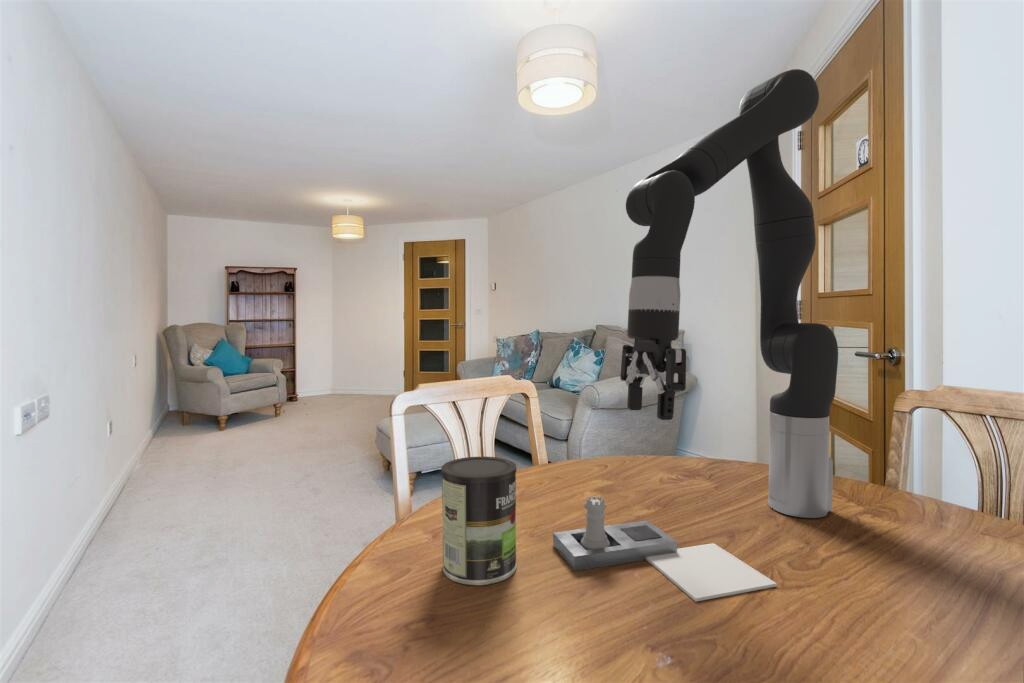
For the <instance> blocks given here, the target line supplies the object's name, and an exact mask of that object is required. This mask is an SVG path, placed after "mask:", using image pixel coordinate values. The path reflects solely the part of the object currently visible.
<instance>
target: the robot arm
mask: <svg viewBox="0 0 1024 683" xmlns="http://www.w3.org/2000/svg"><path fill="white" fill-rule="evenodd" d="M819 100H820V92H819V87H818V84H817V82H816V80H815V78H814V77H813V76H812V74H810V73H809V72H808V71H805V70H803V69H799V68H795V69H794V68H793V69H789V70H786V71H783V72H781V73H778V74H777V75H774V76H773V77H772V78H769V79H768V80H766V81H764V82H762V83H760V84H758V85H757V86H754V87H753V88H751V89H749V90H748V91H747V92H746V93H745V94H744V95H743V96H742V98H741V100H740V102H739V107H738V116H737V117H734V118H733V119H731V120H730V121H728V122H727V123H724V124H723V125H721V126H720V127H718V128H716V129H714V130H713V131H711V132H709V133H708V134H707V135H705V136H703V137H702V138H700V139H699V140H698V141H696V142H695V143H694V144H692V145H691V146H689V147H688V148H687V149H685V150H684V151H683V152H682V153H681V154H679V155H678V157H676V158H675V159H674V160H672V161H671V162H670V163H668V164H666V165H664V166H662V167H661V168H658V169H657V170H655V171H653V172H652V173H650V174H649V175H646V177H644V178H643V179H641V180H639V181H638V182H637V183H636V184H634V185H633V187H632V188H631V189H630V191H629V192H628V195H627V197H626V200H625V211H626V214H627V217H628V218H629V219H630V220H631V221H632V222H633V223H634V224H636V225H638V226H641V227H649V228H648V231H647V234H646V235H645V236H643V238H641V239H640V240H639V241H638V242H636V243H635V245H634V247H633V251H632V264H631V265H632V266H631V268H632V269H631V282H630V288H629V293H628V294H629V295H628V313H627V314H628V315H627V332H626V335H627V337H628V338H629V339H632V340H633V339H634V343H633V344H623V346H622V352H621V362H620V363H621V364H620V380H621V381H622V382H623V381H624V382H625V385H626V386H627V409H628V410H630V411H641V410H642V406H643V404H642V403H643V388H644V387H642V385H643V384H644V382H645V380H646V379H647V377H649V376H650V378H651V380H652V381H653V382H655V385H656V387H657V392H658V393H657V408H656V409H657V410H656V417H657V419H659V420H660V421H670V420H672V419H673V418H674V412H675V410H674V409H675V395H676V394H677V393H679V392H684V391H685V390H686V388H687V385H686V384H687V383H686V381H687V350H686V349H685V348H672V342H673V341H677V340H678V338H679V332H680V330H679V329H680V315H681V314H680V311H681V283H680V273H681V254H682V249H683V245H684V243H685V241H686V240H685V239H686V237H687V234H688V230H689V227H690V223H691V222H692V221H691V220H692V217H693V214H694V209H695V202H696V201H695V200H696V199H695V198H696V197H698V196H699V195H701V194H703V193H705V192H707V191H708V190H710V189H712V187H713V186H715V185H716V184H717V183H718V182H720V181H721V180H722V179H723V178H724V177H725V176H727V175H728V174H729V173H730V172H732V171H733V170H734V169H735V168H737V167H738V166H739V165H740V164H742V163H743V162H744V161H746V166H747V169H748V170H747V172H748V177H749V184H750V190H751V192H750V193H751V200H752V207H753V208H752V209H753V212H752V213H753V226H754V238H755V246H756V247H755V248H756V253H757V261H758V262H757V263H758V275H759V277H758V278H759V292H760V318H759V321H760V322H759V323H760V325H759V330H760V333H759V335H760V336H759V343H760V352H761V356H762V360H763V361H764V363H765V365H766V366H767V367H768V369H770V370H771V371H773V372H776V373H781V374H786V375H790V379H789V380H790V381H789V385H788V388H786V389H785V390H784V391H782V392H779V393H776V394H773V395H771V397H770V400H769V436H768V437H769V440H768V441H769V443H768V444H769V445H768V450H769V452H768V503H769V504H768V503H767V504H768V506H769V508H771V509H772V508H773V509H772V510H774V511H776V512H778V513H781V514H784V515H787V516H792V517H796V518H797V517H798V518H805V519H819V518H824V517H826V516H827V515H828V513H829V511H832V512H833V487H834V486H833V483H834V482H833V479H834V478H833V477H834V473H833V472H834V460H833V458H832V457H831V456H830V414H831V412H830V411H831V406H832V404H833V402H834V399H835V397H836V396H835V395H836V388H837V374H838V367H839V366H838V364H839V363H838V362H839V344H838V341H837V337H836V335H835V333H834V331H833V330H832V329H831V328H830V327H828V325H825V324H822V323H817V322H816V323H815V322H799V315H798V295H799V294H798V293H799V289H800V286H801V283H802V280H803V279H804V277H805V274H806V272H807V270H808V267H809V265H810V263H811V261H812V260H813V259H812V258H813V256H814V254H815V249H816V242H817V241H816V240H817V238H816V227H815V217H814V216H815V213H814V209H813V205H812V203H811V201H810V199H809V197H808V196H807V195H806V194H805V192H804V191H803V189H801V187H800V185H798V184H797V183H796V181H795V180H794V179H793V178H792V176H791V175H790V174H789V173H788V171H787V170H786V168H785V166H784V164H783V161H782V156H781V151H780V144H779V136H780V135H783V134H785V133H787V132H790V131H792V130H795V129H797V128H798V127H801V126H802V125H803V124H805V123H806V122H808V121H809V120H810V119H811V118H812V117H813V116H814V114H815V112H816V111H817V108H818V106H819ZM676 374H677V382H676V380H675V377H676ZM664 382H665V383H664Z"/></svg>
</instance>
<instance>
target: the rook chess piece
mask: <svg viewBox="0 0 1024 683" xmlns="http://www.w3.org/2000/svg"><path fill="white" fill-rule="evenodd" d="M596 498H597V499H596ZM583 507H584V508H585V509H586V514H585V517H586V526H585V528H586V531H585V534H584V535H583V536H584V537H583V538H582V539H581V542H580V544H581V546H582V547H583V548H584V549H585V550H591V549H598V548H605V547H610V542H609V540H608V539H607V536H606V534H605V529H604V526H605V523H604V522H605V521H604V520H605V518H606V515H605V514H604V512H605V510H606V509H607V507H608V506H607V504H606V503H605V498H603V497H602V496H598V497H596V496H595V495H593V496H592V498H591V496H587V498H586V501H585V503H584V504H583Z"/></svg>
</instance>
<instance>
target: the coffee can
mask: <svg viewBox="0 0 1024 683" xmlns="http://www.w3.org/2000/svg"><path fill="white" fill-rule="evenodd" d="M440 473H441V477H442V478H441V481H442V485H441V487H442V489H441V491H442V493H441V496H442V497H441V499H442V560H443V561H442V572H443V574H444V576H446V578H447V579H450V580H451V581H453V582H455V583H458V584H462V585H465V586H467V585H468V586H487V585H493V584H497V583H500V582H503V581H505V580H507V579H509V578H510V577H511V576H513V575H514V574H515V572H516V570H517V533H516V532H517V531H516V530H517V525H516V524H517V521H516V520H517V515H516V513H517V508H516V507H517V494H516V493H517V492H516V491H517V485H516V484H517V482H516V478H517V476H516V475H517V464H516V463H515V462H514V461H512V460H509V459H506V458H501V457H496V456H468V457H460V458H457V459H453V460H450V461H447V462H445V463H443V464H442V465H441V467H440Z"/></svg>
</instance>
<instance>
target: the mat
mask: <svg viewBox="0 0 1024 683" xmlns="http://www.w3.org/2000/svg"><path fill="white" fill-rule="evenodd" d="M645 561H647V562H648V563H649V564H651V566H653V567H654V568H655V569H656V570H658V571H659V572H660V573H661V574H662V575H664V576H665V577H666V578H667V579H668V580H669V581H670V582H671V583H673V584H674V585H675V586H677V588H679V589H680V590H681V591H683V593H684V594H686V595H687V596H688V597H689V598H691V599H692V600H693V601H694V602H696V603H697V602H701V601H706V600H711V599H716V598H721V597H722V598H723V597H728V596H733V595H739V594H744V593H748V592H755V591H759V590H765V589H771V588H775V587H777V585H778V584H777V583H776V582H775V581H774V580H772V579H771V578H769V577H767V576H766V575H764V574H763V573H761V572H760V571H758V570H757V569H755V568H753V567H751V566H750V565H748V564H747V563H746V562H744V561H743V560H740V559H739V558H737V557H736V556H734V555H733V554H731V553H730V552H728V551H726V550H725V549H724V548H721V547H720V546H719V545H717V544H715V543H714V542H712V543H707V544H698V545H694V546H686V547H681V548H680V547H679V548H678V547H677V552H676V553H670V554H663V555H657V556H650V557H646V560H645Z"/></svg>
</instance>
